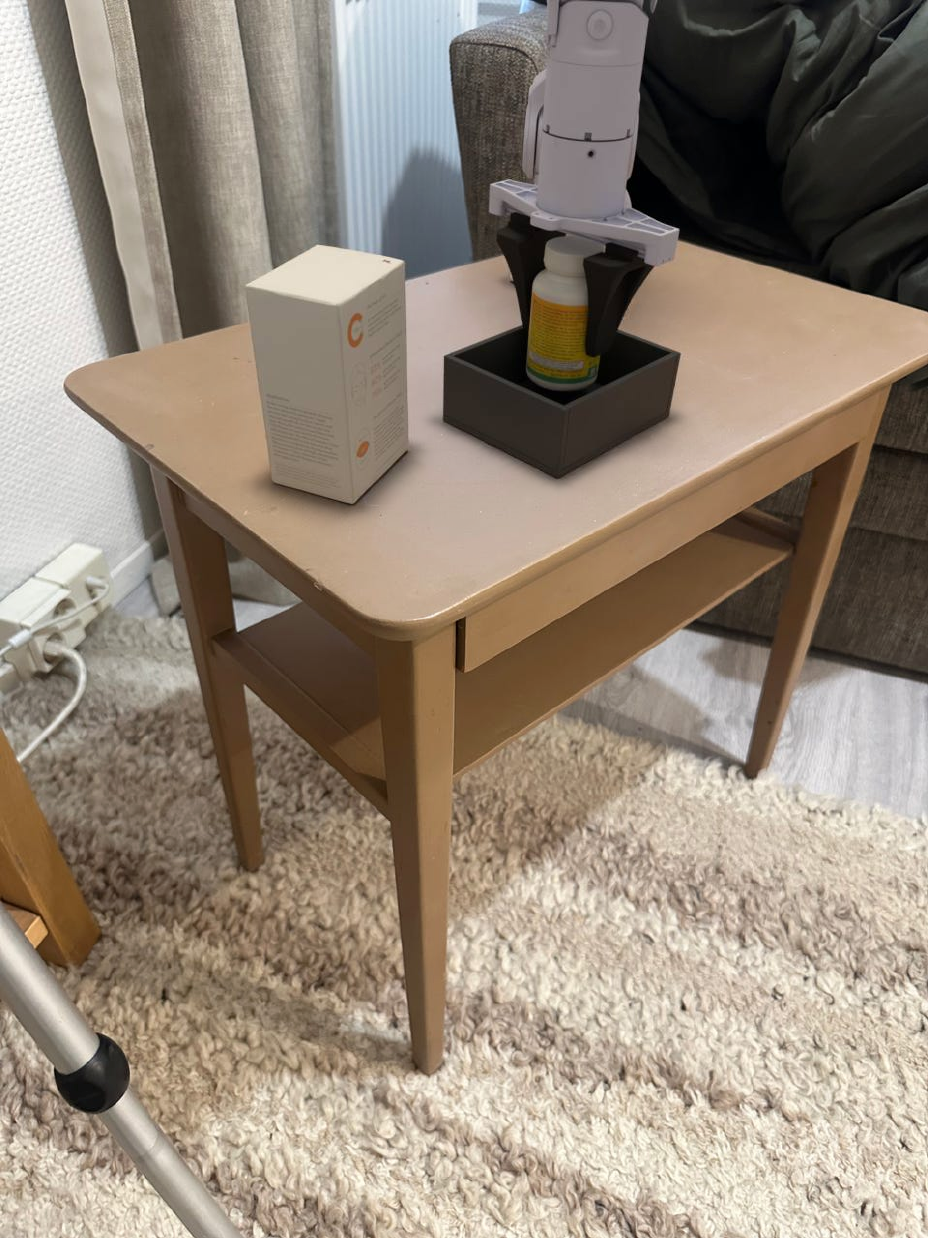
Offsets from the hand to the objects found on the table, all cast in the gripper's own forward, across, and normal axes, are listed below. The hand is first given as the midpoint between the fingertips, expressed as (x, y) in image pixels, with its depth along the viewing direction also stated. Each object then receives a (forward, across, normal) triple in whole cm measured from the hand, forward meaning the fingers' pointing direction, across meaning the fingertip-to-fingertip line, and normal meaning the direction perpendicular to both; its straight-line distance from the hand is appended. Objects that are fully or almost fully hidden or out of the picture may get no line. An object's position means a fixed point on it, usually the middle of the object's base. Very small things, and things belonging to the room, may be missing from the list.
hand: (565, 339), depth 65 cm
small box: (+5, -4, -18) cm, 19 cm away
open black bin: (+5, +2, -2) cm, 6 cm away
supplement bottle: (+3, 0, 0) cm, 3 cm away
